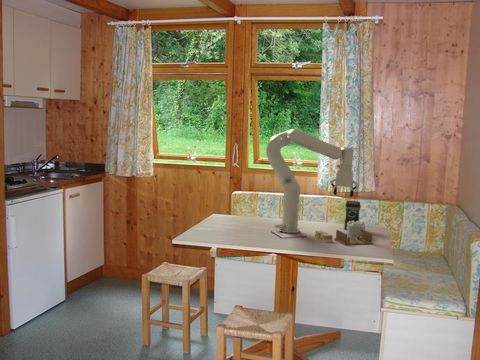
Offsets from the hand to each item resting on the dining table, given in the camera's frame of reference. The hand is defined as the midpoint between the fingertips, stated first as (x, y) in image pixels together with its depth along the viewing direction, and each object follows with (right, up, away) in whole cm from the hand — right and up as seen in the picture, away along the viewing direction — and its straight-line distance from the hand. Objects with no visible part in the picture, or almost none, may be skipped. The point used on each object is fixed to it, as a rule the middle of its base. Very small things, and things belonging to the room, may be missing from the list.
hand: (343, 195), depth 302 cm
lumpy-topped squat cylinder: (+7, -24, +1) cm, 26 cm away
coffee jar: (+9, -22, +17) cm, 29 cm away
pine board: (-14, -25, -13) cm, 32 cm away
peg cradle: (+3, -26, -16) cm, 31 cm away
